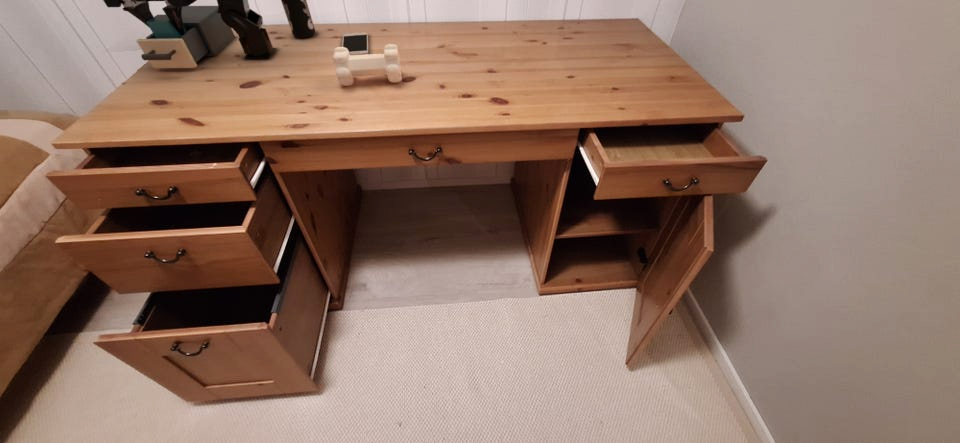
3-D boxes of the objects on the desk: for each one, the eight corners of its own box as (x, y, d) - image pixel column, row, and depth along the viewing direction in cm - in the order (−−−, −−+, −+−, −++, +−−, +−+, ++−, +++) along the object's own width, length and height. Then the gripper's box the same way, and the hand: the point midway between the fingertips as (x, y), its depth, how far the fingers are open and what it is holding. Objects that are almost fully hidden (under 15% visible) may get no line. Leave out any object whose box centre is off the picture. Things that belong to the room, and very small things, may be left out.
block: (188, 35, 98) (177, 14, 95) (179, 42, 95) (167, 21, 91) (169, 35, 98) (157, 14, 94) (158, 43, 95) (146, 21, 91)
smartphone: (368, 35, 114) (367, 31, 114) (368, 55, 104) (367, 52, 103) (343, 36, 113) (343, 33, 113) (341, 57, 103) (341, 54, 102)
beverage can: (309, 40, 112) (295, -6, 103) (289, 38, 113) (273, -8, 104) (320, 31, 116) (307, -13, 107) (300, 30, 117) (286, -14, 108)
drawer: (187, 75, 94) (171, 47, 89) (144, 75, 93) (125, 47, 88) (216, 48, 105) (203, 22, 100) (178, 48, 105) (163, 22, 100)
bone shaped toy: (402, 71, 98) (397, 39, 92) (402, 87, 92) (397, 53, 86) (342, 75, 96) (333, 42, 90) (339, 91, 90) (329, 57, 84)
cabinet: (215, 56, 103) (198, 22, 97) (171, 56, 103) (152, 23, 97) (235, 37, 113) (221, 5, 107) (195, 37, 112) (179, 5, 106)
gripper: (191, -47, 90) (223, 23, 102) (110, -47, 90) (151, 23, 101) (166, -35, 83) (203, 39, 94) (78, -35, 82) (126, 40, 93)
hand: (171, 34), depth 96 cm, fingers closed on block, 5 cm apart
